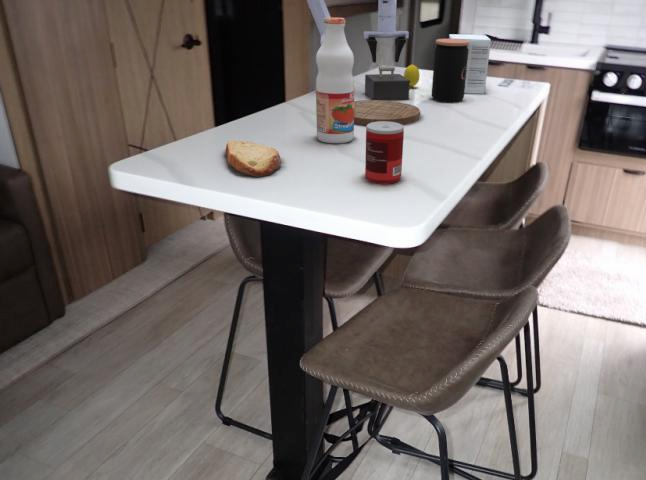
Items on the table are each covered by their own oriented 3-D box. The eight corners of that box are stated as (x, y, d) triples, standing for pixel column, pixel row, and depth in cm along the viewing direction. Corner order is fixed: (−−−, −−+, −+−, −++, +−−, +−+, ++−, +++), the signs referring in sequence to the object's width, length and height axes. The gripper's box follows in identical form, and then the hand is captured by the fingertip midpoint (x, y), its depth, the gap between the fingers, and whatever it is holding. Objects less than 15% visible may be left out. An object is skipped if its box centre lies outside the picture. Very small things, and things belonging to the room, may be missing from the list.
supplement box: (444, 85, 218) (448, 33, 209) (480, 86, 217) (486, 34, 208) (447, 92, 206) (451, 38, 197) (485, 94, 206) (491, 39, 197)
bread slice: (235, 147, 143) (234, 131, 141) (302, 156, 137) (302, 140, 136) (190, 168, 128) (188, 151, 127) (263, 179, 123) (262, 162, 121)
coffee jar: (465, 103, 192) (471, 43, 183) (432, 102, 192) (437, 42, 183) (461, 96, 201) (467, 39, 192) (430, 95, 201) (434, 38, 192)
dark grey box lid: (410, 82, 192) (410, 69, 190) (374, 83, 189) (374, 69, 187) (399, 76, 202) (400, 63, 200) (365, 76, 199) (365, 63, 197)
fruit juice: (329, 132, 157) (328, 15, 143) (360, 137, 153) (362, 18, 139) (309, 140, 150) (306, 18, 136) (341, 146, 146) (341, 20, 132)
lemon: (400, 86, 214) (401, 63, 210) (414, 85, 216) (415, 62, 212) (407, 89, 210) (409, 65, 206) (421, 88, 212) (423, 64, 208)
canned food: (399, 172, 129) (402, 121, 124) (402, 184, 122) (405, 131, 117) (364, 172, 129) (365, 120, 123) (365, 184, 122) (366, 130, 116)
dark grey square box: (408, 99, 195) (409, 82, 192) (373, 100, 192) (373, 83, 190) (398, 92, 205) (399, 76, 202) (364, 93, 202) (365, 76, 199)
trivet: (406, 130, 161) (407, 123, 160) (321, 120, 167) (321, 114, 166) (428, 111, 181) (429, 104, 180) (351, 103, 188) (352, 97, 187)
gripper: (367, 17, 184) (367, 64, 191) (412, 17, 187) (410, 63, 194) (362, 15, 190) (361, 60, 196) (405, 15, 193) (403, 60, 200)
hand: (385, 62), depth 196 cm, fingers open, 7 cm apart
